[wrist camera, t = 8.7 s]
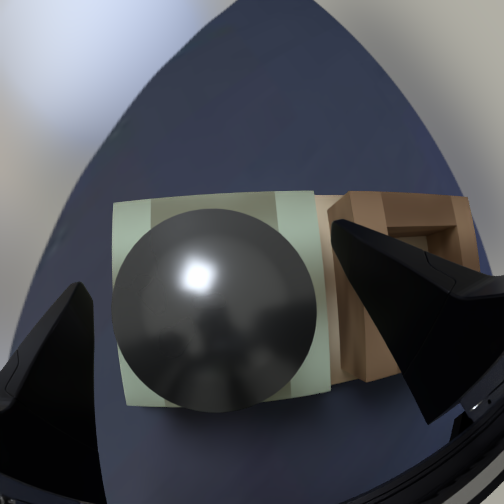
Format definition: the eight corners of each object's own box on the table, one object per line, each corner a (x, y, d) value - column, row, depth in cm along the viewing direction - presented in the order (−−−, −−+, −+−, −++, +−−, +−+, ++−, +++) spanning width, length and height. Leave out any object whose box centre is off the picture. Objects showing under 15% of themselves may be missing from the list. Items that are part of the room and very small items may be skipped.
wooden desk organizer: (451, 345, 18) (489, 350, 14) (136, 394, 15) (113, 421, 11) (436, 202, 20) (471, 184, 15) (124, 211, 17) (97, 186, 13)
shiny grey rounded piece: (267, 315, 16) (349, 349, 5) (206, 348, 15) (176, 439, 5) (234, 254, 16) (254, 176, 6) (173, 286, 16) (82, 266, 5)
